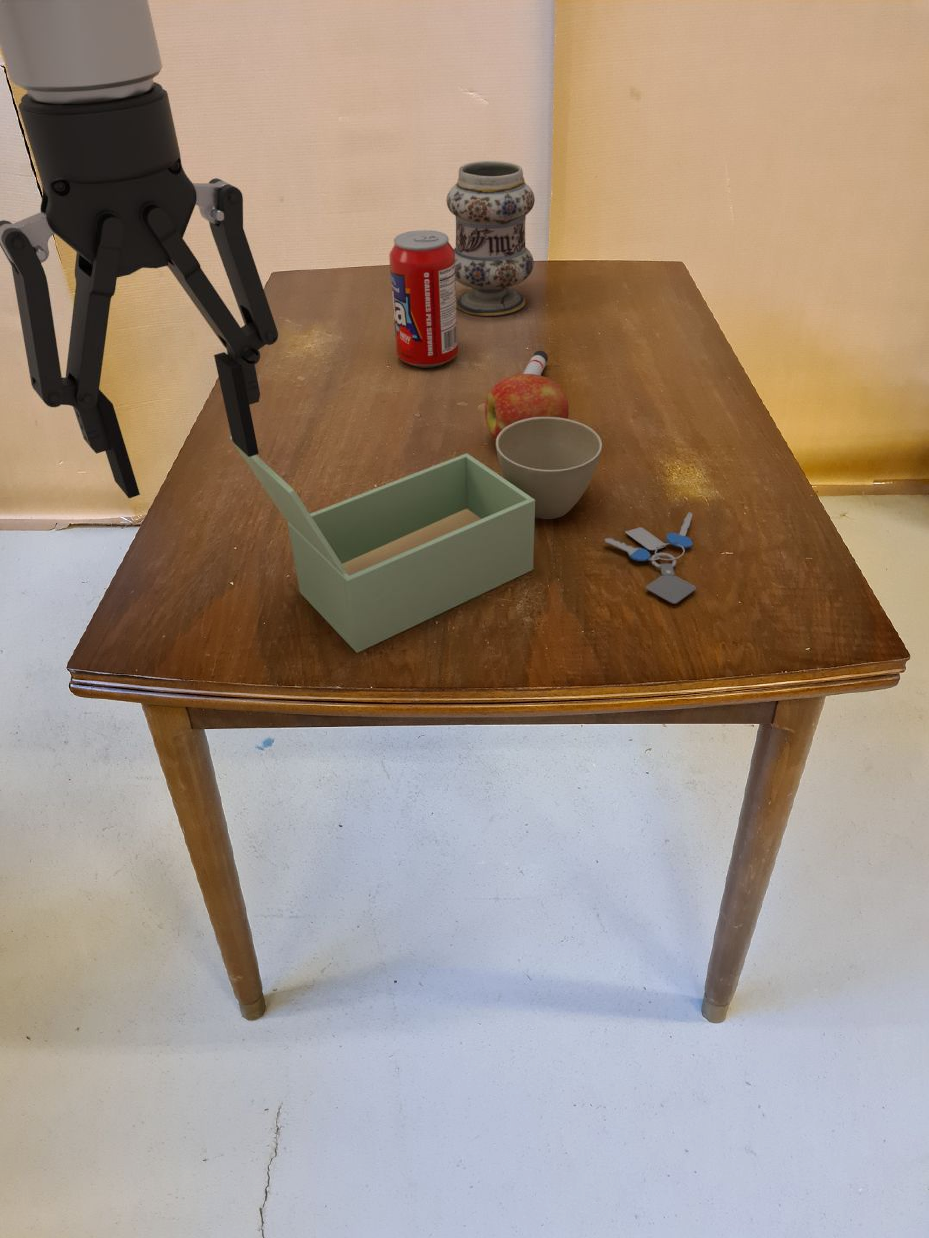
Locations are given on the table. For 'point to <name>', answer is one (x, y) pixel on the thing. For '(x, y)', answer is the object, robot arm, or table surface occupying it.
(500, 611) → the table surface
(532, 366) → the marker
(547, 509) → the flower pot
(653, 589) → the key chain
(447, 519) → the birch block
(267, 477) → the flap
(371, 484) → the table surface
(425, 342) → the soda can
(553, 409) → the apple
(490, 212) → the apothecary jar
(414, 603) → the carton
